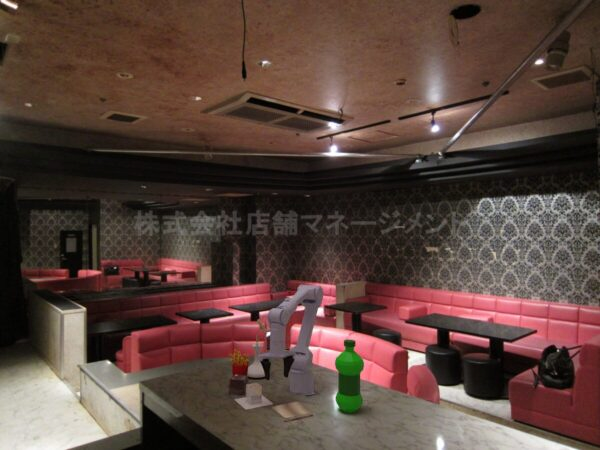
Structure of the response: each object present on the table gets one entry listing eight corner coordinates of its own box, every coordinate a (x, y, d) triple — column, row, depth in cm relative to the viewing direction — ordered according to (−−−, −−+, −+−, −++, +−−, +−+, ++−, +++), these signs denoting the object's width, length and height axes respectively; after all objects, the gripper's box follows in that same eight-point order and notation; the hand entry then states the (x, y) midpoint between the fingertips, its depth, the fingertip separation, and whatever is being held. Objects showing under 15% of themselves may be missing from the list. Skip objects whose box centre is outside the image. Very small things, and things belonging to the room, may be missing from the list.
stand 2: (297, 405, 157) (297, 401, 157) (313, 416, 148) (313, 411, 148) (271, 411, 152) (271, 406, 152) (285, 422, 142) (285, 418, 142)
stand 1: (260, 398, 164) (260, 394, 164) (273, 408, 155) (273, 404, 155) (234, 403, 159) (234, 399, 159) (245, 413, 149) (245, 409, 149)
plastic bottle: (346, 402, 161) (347, 336, 162) (368, 410, 154) (369, 341, 155) (329, 409, 154) (329, 340, 155) (351, 418, 147) (352, 345, 148)
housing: (256, 398, 160) (256, 382, 160) (261, 402, 156) (261, 386, 156) (245, 400, 157) (246, 384, 158) (250, 404, 154) (250, 388, 154)
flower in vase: (268, 380, 186) (269, 323, 187) (242, 379, 186) (243, 322, 187) (270, 371, 199) (271, 317, 200) (246, 370, 199) (247, 317, 200)
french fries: (248, 384, 180) (249, 348, 181) (247, 391, 172) (247, 353, 172) (228, 384, 180) (229, 348, 180) (225, 391, 171) (226, 353, 172)
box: (243, 399, 163) (244, 380, 163) (228, 398, 164) (229, 378, 164) (248, 394, 169) (249, 375, 169) (234, 392, 170) (234, 374, 170)
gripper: (264, 345, 150) (263, 383, 149) (299, 341, 157) (299, 378, 156) (256, 341, 156) (255, 378, 155) (291, 337, 163) (290, 373, 162)
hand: (276, 378), depth 156 cm, fingers open, 7 cm apart
